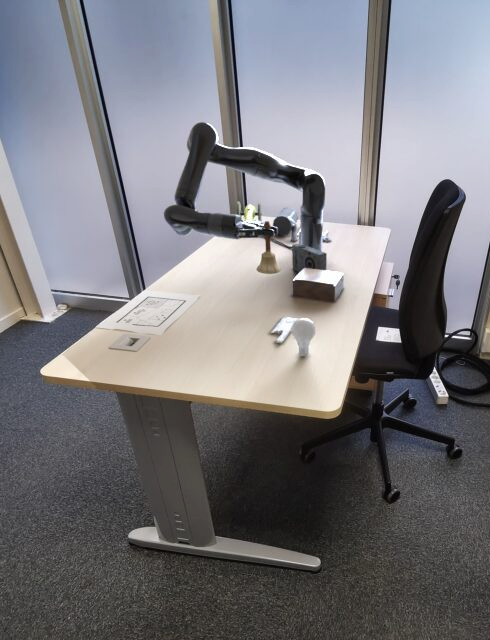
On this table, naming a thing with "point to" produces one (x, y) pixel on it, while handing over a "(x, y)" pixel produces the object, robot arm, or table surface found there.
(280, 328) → the white cleaver
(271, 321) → the table surface
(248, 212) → the cannon
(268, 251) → the hand bell
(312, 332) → the lightbulb
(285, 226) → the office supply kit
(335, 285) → the block
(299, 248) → the camera
